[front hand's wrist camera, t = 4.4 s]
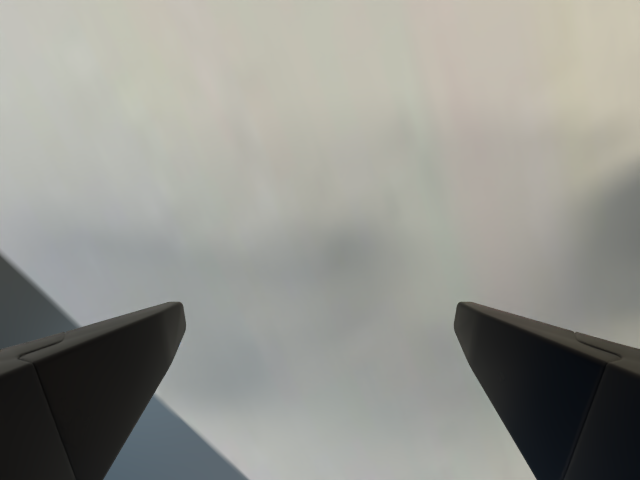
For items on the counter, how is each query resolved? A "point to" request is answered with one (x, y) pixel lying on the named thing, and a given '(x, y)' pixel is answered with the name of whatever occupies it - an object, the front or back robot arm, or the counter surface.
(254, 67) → the counter surface
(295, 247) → the counter surface
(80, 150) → the counter surface
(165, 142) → the counter surface
